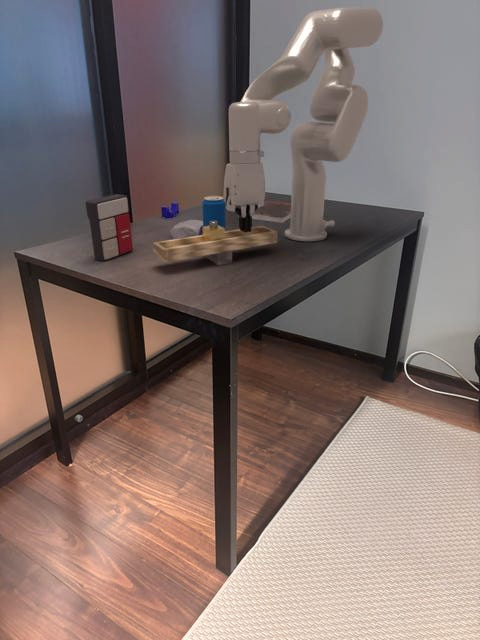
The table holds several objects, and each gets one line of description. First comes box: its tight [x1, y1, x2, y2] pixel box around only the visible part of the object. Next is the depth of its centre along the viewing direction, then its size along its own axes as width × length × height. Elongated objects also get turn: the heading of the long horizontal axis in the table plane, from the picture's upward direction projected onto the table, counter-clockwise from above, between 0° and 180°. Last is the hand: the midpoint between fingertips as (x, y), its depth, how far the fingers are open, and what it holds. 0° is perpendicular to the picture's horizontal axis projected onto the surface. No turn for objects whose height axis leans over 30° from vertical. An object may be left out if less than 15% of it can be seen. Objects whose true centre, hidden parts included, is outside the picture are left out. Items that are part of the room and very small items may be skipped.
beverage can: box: [202, 195, 226, 231], centre depth 138 cm, size 6×6×12 cm
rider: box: [203, 221, 225, 242], centre depth 120 cm, size 4×4×6 cm
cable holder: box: [160, 201, 180, 219], centre depth 166 cm, size 8×4×4 cm, turn 156°
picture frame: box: [237, 200, 291, 223], centre depth 170 cm, size 16×2×22 cm
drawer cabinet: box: [85, 193, 133, 262], centre depth 124 cm, size 11×4×15 cm, turn 148°
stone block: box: [170, 219, 203, 240], centre depth 145 cm, size 12×5×10 cm
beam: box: [152, 225, 278, 266], centre depth 123 cm, size 32×8×6 cm, turn 120°
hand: (245, 230), depth 125 cm, fingers closed
